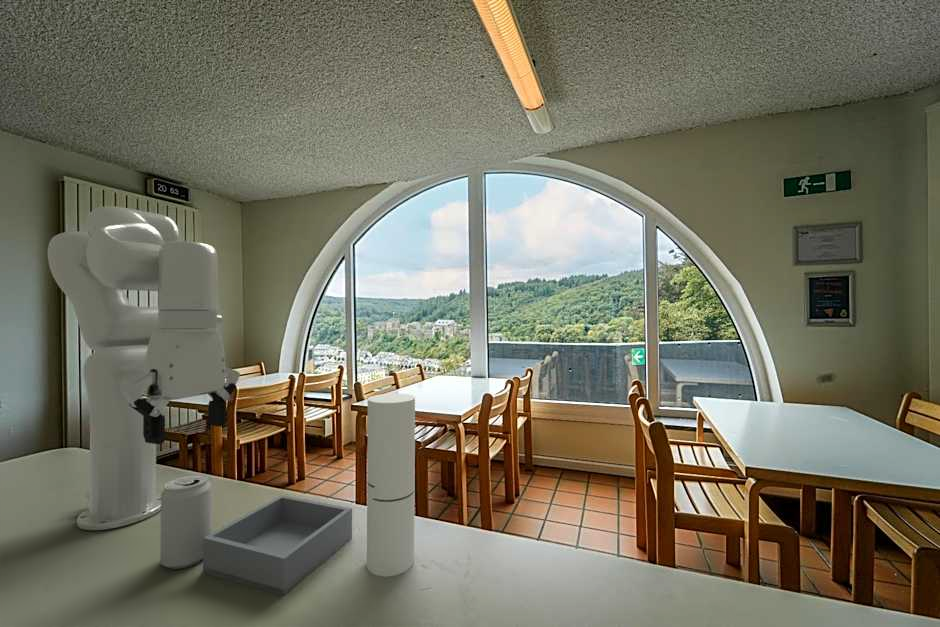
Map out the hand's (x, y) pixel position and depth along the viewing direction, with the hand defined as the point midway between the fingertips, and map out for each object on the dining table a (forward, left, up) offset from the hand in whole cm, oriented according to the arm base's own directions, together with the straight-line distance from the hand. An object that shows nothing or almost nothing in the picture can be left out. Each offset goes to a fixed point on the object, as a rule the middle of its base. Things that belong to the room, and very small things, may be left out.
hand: (188, 433), depth 62 cm
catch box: (+13, +6, -19) cm, 24 cm away
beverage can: (0, 0, -20) cm, 20 cm away
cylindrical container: (+30, +10, -20) cm, 37 cm away
